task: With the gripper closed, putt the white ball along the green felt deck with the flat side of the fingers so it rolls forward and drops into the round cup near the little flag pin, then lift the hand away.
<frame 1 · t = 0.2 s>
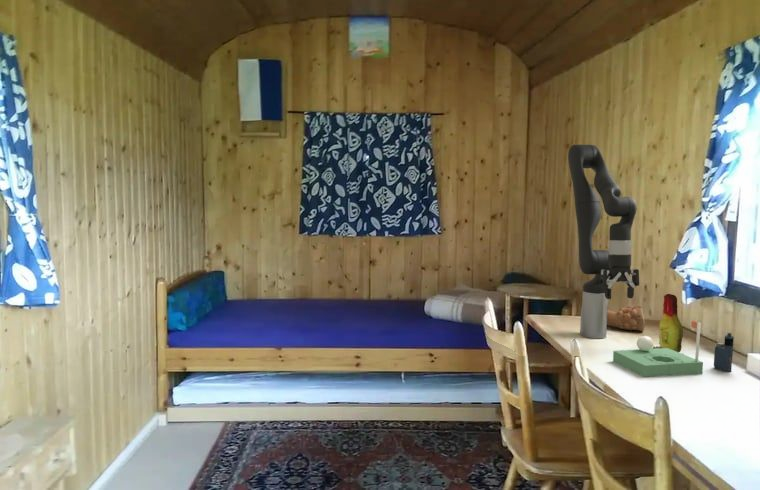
hand: (619, 298, 204), 18 cm above the table, tool pointing down, fingers open, 8 cm apart
vaping device: (722, 370, 180), on the table
ball: (645, 343, 187), point 6 cm above the table, touching green
bag of nuts: (623, 329, 233), on the table
green: (656, 367, 182), on the table
bottle: (668, 351, 201), on the table
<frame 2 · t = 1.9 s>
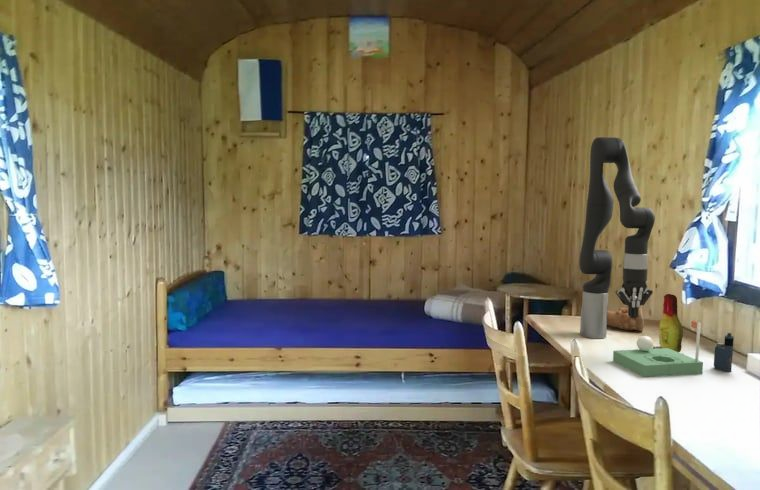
hand: (633, 317, 193), 13 cm above the table, tool pointing down, fingers closed
nothing on the table moved.
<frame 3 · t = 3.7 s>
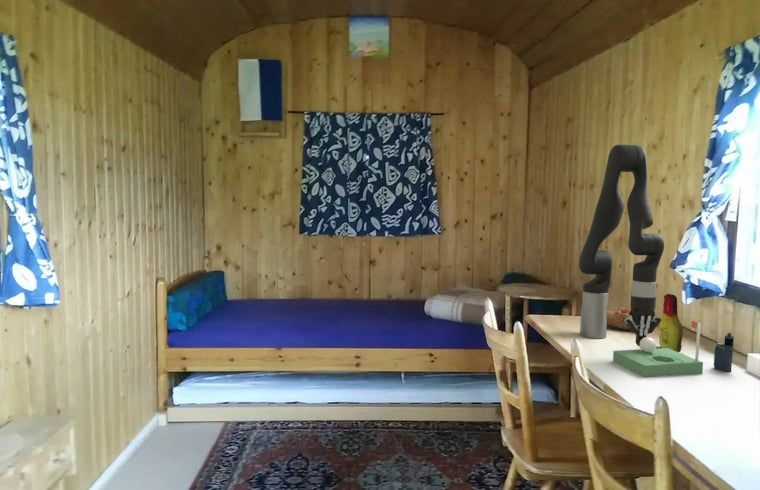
hand: (640, 345, 189), 5 cm above the table, tool pointing down, fingers closed
ball: (647, 344, 186), point 6 cm above the table, tilted 24°, touching gripper
everything else where it was.
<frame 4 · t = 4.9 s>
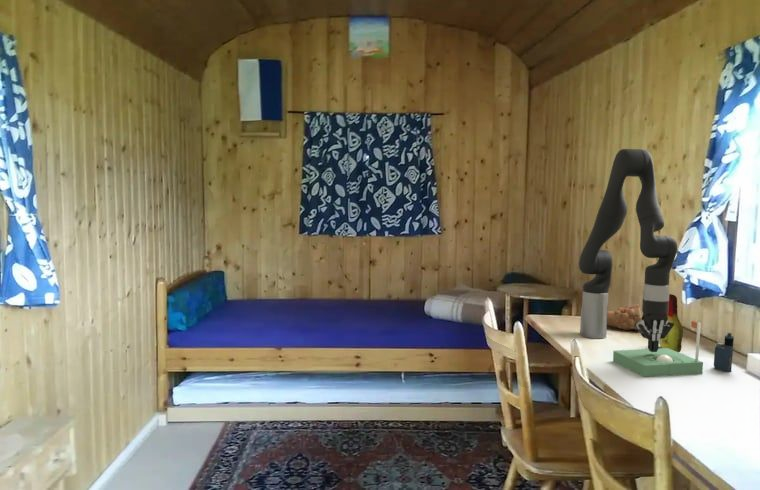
hand: (652, 351, 183), 5 cm above the table, tool pointing down, fingers closed
ball: (664, 362, 178), point 2 cm above the table, tilted 108°
everything else where it was.
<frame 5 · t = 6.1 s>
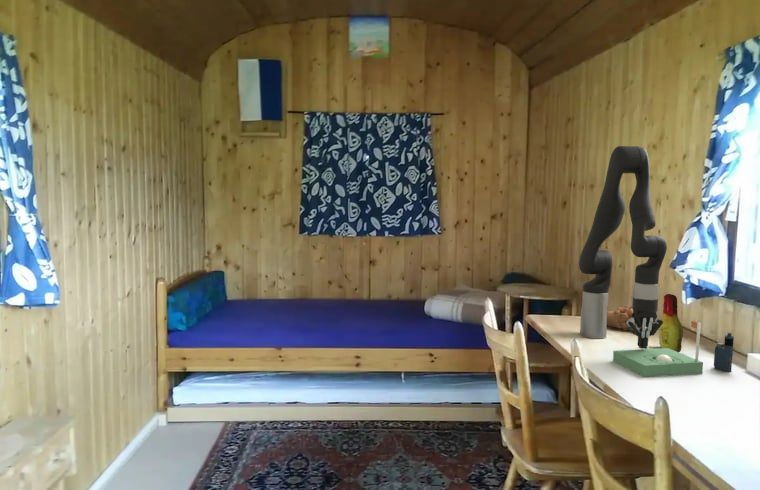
hand: (642, 348, 188), 4 cm above the table, tool pointing down, fingers closed
ball: (663, 362, 178), point 2 cm above the table, tilted 114°
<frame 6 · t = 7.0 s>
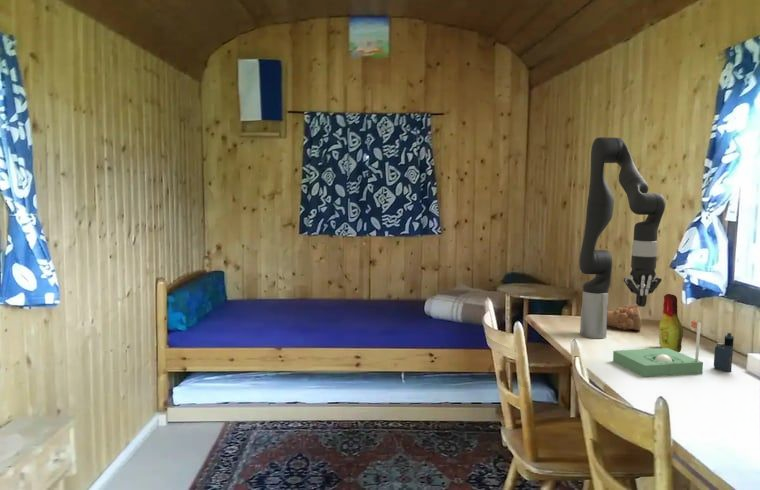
hand: (640, 306, 189), 18 cm above the table, tool pointing down, fingers closed
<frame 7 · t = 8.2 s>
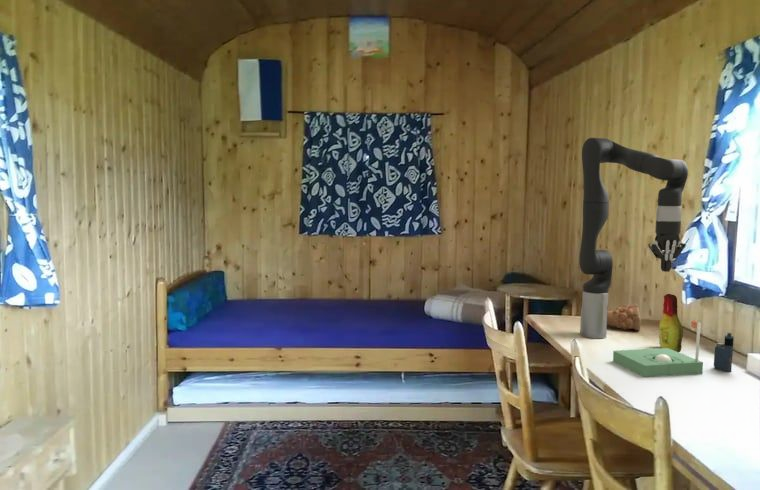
hand: (665, 271, 192), 29 cm above the table, tool pointing down, fingers closed
ball: (663, 362, 179), point 2 cm above the table, tilted 123°
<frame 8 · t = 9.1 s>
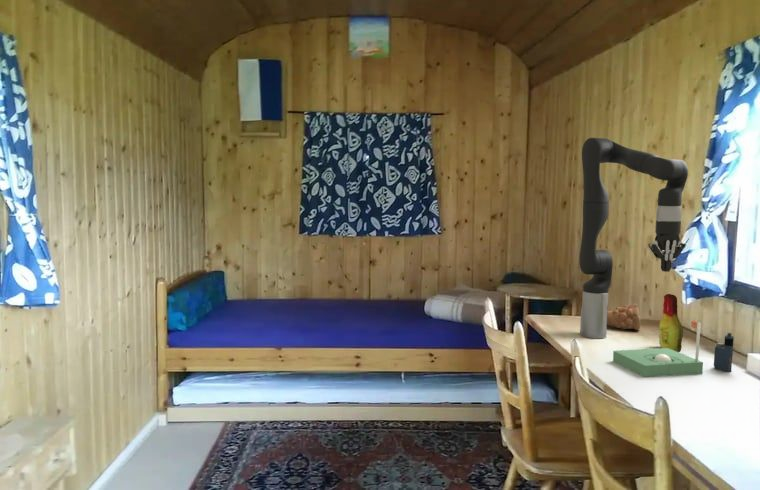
hand: (665, 271, 192), 29 cm above the table, tool pointing down, fingers closed
at the end: ball 0.3 cm from the target spot on the green, point 2.5 cm above the green's base; ball moved 9.4 cm from its start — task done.
